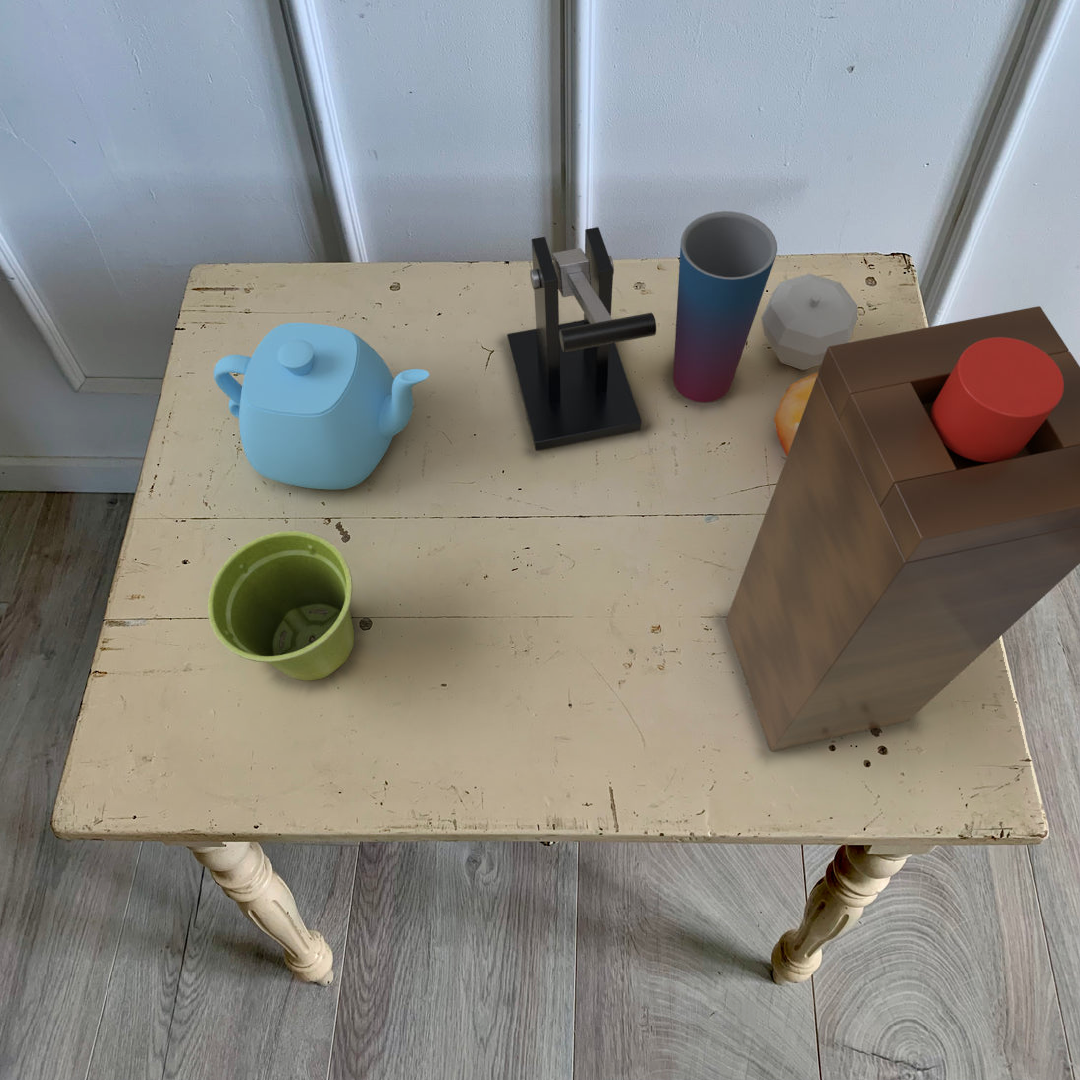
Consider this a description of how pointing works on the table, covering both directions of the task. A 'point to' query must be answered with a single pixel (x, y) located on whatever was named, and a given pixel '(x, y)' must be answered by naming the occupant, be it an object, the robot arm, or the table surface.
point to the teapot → (316, 405)
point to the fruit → (792, 410)
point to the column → (899, 537)
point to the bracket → (570, 362)
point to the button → (996, 399)
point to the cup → (718, 299)
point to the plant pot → (285, 604)
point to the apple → (808, 319)
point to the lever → (593, 308)
